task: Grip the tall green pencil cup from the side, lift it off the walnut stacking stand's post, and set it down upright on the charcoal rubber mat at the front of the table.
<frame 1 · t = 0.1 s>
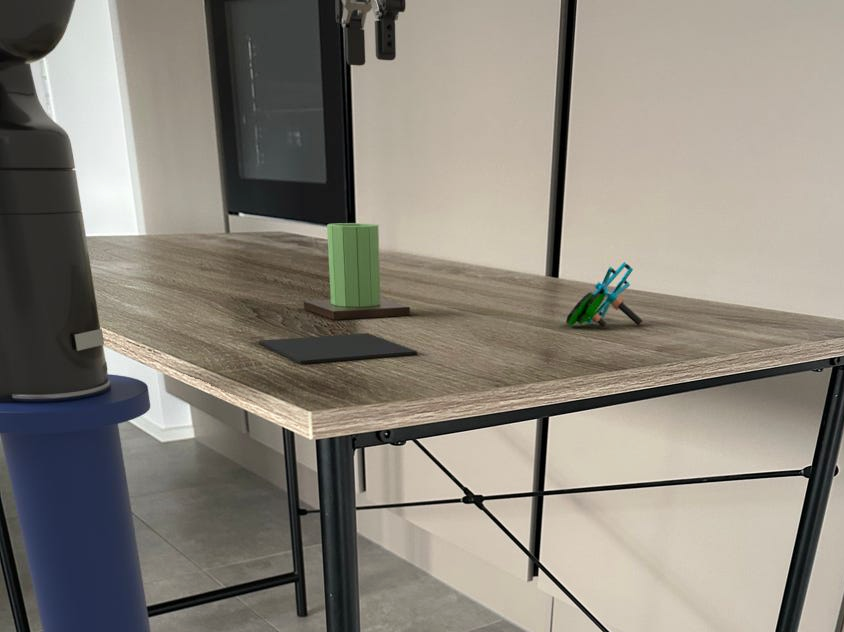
hand: (370, 62, 111), 27 cm above the table, tool pointing down, fingers open, 8 cm apart
green pencil cup: (355, 303, 117), point 1 cm above the table, touching stand
stick construction toy: (605, 326, 111), on the table
stand: (356, 312, 117), on the table
mat: (336, 348, 94), on the table
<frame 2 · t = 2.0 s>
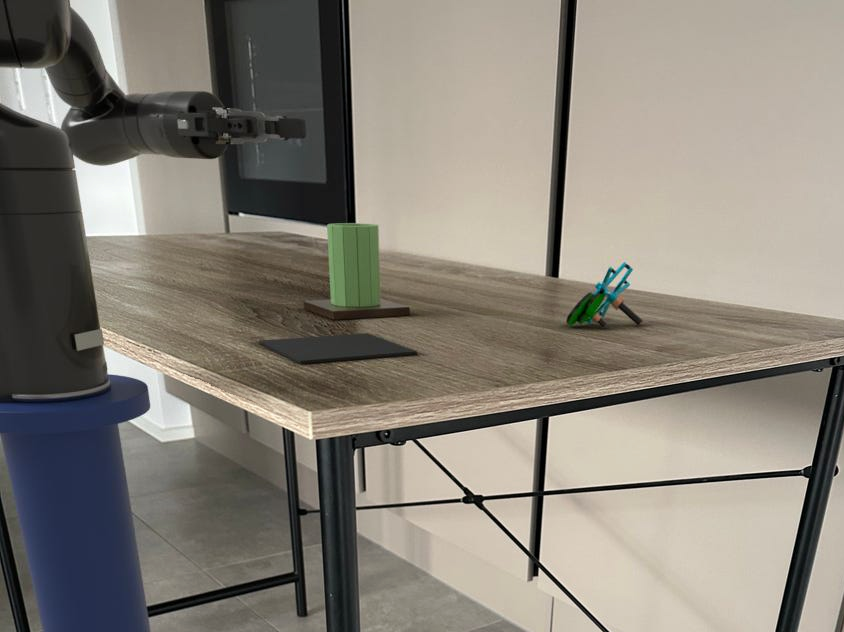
hand: (280, 127, 113), 20 cm above the table, tool horizontal, fingers open, 8 cm apart
nothing on the table moved.
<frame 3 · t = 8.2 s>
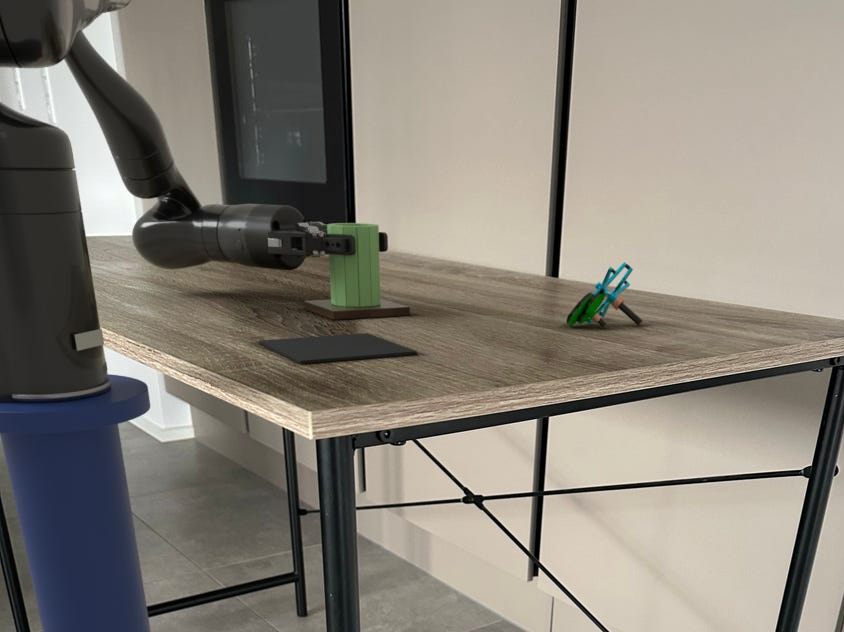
hand: (369, 243, 112), 8 cm above the table, tool horizontal, fingers closed on green pencil cup, 6 cm apart
green pencil cup: (356, 303, 117), point 1 cm above the table, touching gripper, stand
everything else where it was.
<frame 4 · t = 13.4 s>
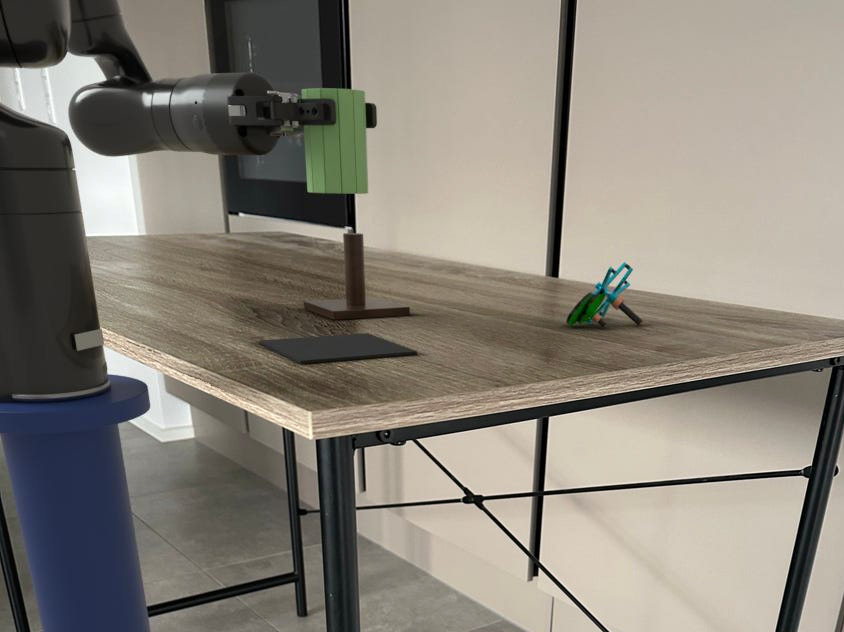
hand: (354, 113, 91), 21 cm above the table, tool horizontal, fingers closed on green pencil cup, 6 cm apart
green pencil cup: (338, 192, 95), point 14 cm above the table, touching gripper
everything else where it was.
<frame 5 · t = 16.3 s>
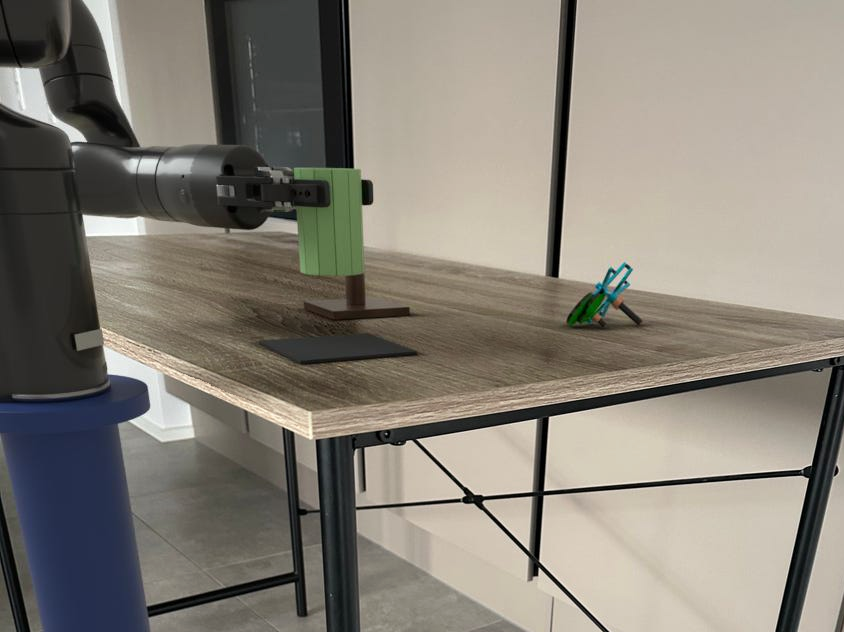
hand: (349, 193, 87), 14 cm above the table, tool horizontal, fingers closed on green pencil cup, 6 cm apart
green pencil cup: (332, 272, 91), point 7 cm above the table, touching gripper
everything else where it was.
when the fingers open (7 cm above the table, at t = 18.8 s): green pencil cup stays where it is, resting on mat.
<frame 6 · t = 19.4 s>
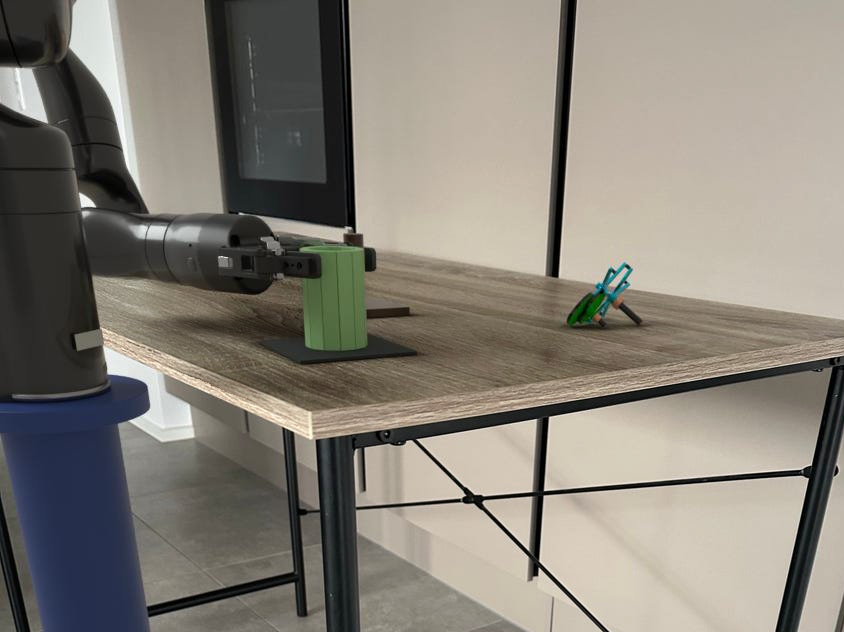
hand: (347, 263, 89), 8 cm above the table, tool horizontal, fingers open, 8 cm apart
green pencil cup: (336, 345, 94), resting on mat
everything else where it was.
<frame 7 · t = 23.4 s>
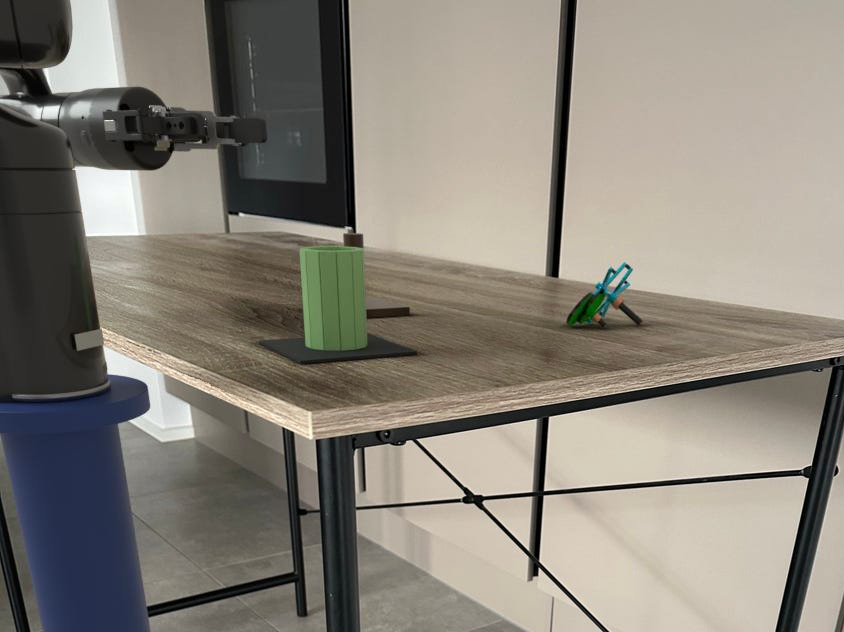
hand: (234, 128, 90), 19 cm above the table, tool horizontal, fingers open, 8 cm apart
nothing on the table moved.
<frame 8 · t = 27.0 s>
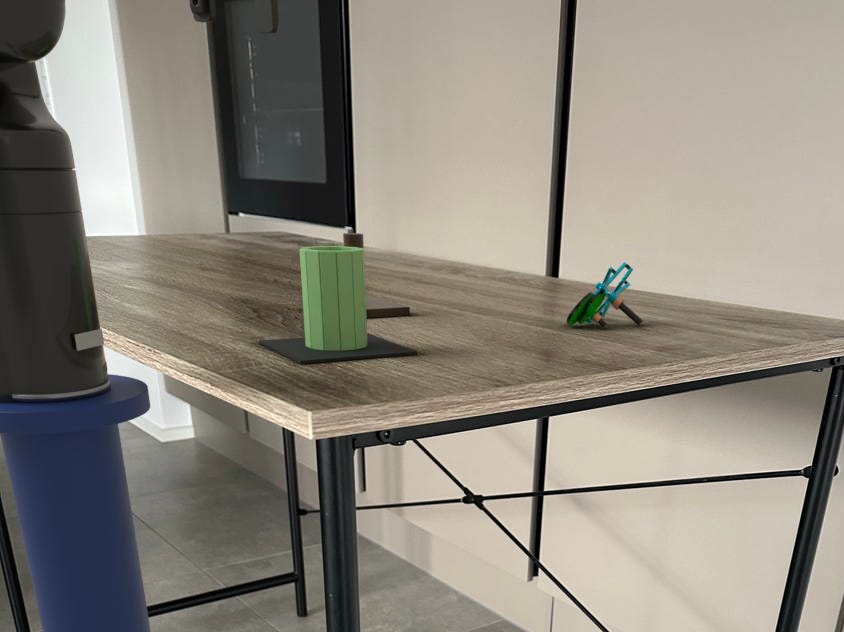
hand: (237, 27, 91), 28 cm above the table, tool pointing down, fingers open, 8 cm apart
nothing on the table moved.
at the end: green pencil cup inside the target area on the mat (0.1 cm from its centre), point 0.3 cm above the mat's base; green pencil cup tilted 0°; the gripper is holding nothing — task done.
